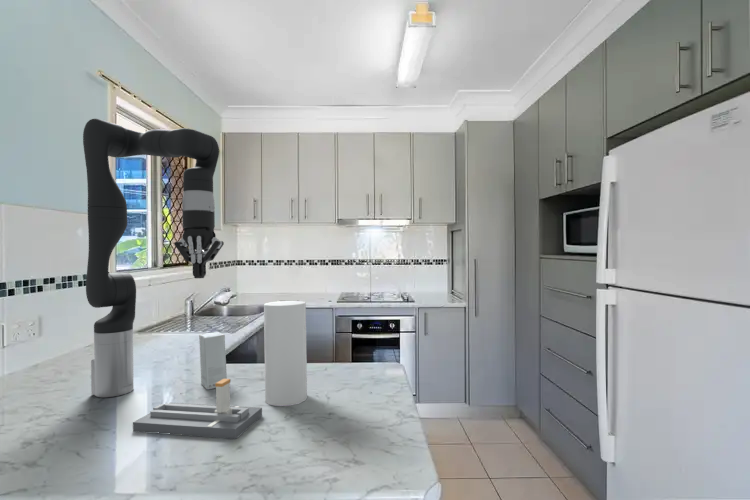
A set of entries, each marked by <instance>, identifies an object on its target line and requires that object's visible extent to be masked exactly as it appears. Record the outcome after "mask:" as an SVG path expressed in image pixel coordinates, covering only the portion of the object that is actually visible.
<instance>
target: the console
mask: <svg viewBox="0 0 750 500" xmlns="http://www.w3.org/2000/svg"><path fill="white" fill-rule="evenodd" d="M229 408H232V414H219V413H214V411H215V410H216V404H201V403H187V402H168V403H167V402H166V403H160V404H158V405H157V406H154V407H152V410H151V411H149V413H148V414H146V415H144V416H142V417H140V418H138V419H136V420H134V421H132V432H133V433H134V432H136V433H146V432H159V433H158V434H160V433H170V434H169V435H174V434H182V435H181V436H187V435H192V436H191V437H201V436H202V438H204V437H205V438H216V439H218V438H219V439H231V440H237V438H238V437H240V436H241V435H242V434H243V433H244V432H246V431H247V430H248V429H249V428H250V427H251V426H253V425H254V424H255V423H256V422H257V421H258V420H259V419H261V418H262V417H263V407H260V406H259V407H257V406H238V405H230V407H229Z"/></svg>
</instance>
